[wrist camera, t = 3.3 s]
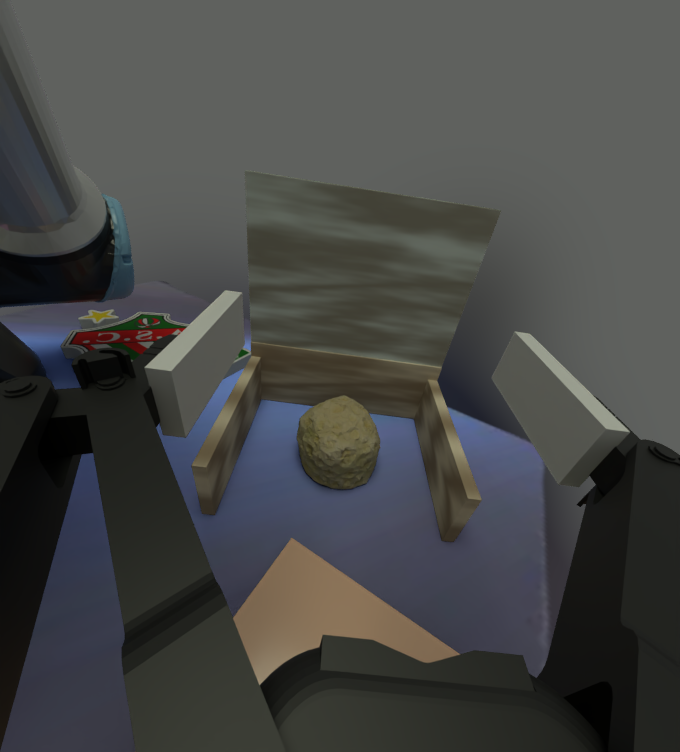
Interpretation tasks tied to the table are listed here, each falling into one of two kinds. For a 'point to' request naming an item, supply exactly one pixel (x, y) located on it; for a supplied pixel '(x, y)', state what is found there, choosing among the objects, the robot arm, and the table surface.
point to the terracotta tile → (320, 614)
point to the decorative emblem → (129, 335)
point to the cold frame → (354, 319)
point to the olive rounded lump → (338, 443)
